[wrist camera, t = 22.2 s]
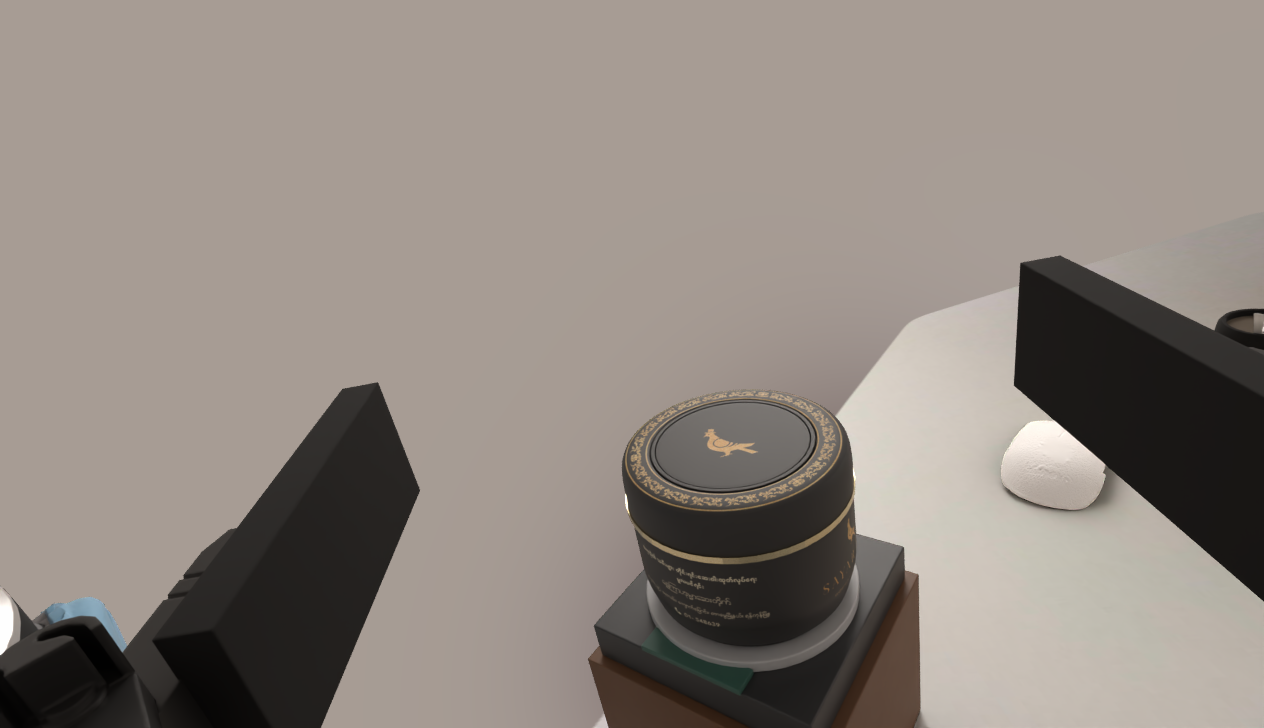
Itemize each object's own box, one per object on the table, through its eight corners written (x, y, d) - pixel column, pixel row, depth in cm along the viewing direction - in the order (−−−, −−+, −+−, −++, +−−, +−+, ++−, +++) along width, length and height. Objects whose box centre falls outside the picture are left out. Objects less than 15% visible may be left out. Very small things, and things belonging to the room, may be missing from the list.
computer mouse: (1120, 432, 57) (1124, 408, 56) (1094, 518, 49) (1097, 492, 48) (1028, 417, 61) (1029, 394, 60) (990, 494, 53) (991, 469, 52)
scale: (837, 920, 31) (816, 732, 26) (626, 787, 38) (575, 619, 33) (920, 709, 39) (918, 533, 34) (733, 632, 46) (706, 477, 41)
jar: (838, 688, 27) (824, 534, 24) (612, 633, 32) (575, 498, 28) (876, 523, 35) (870, 390, 32) (691, 498, 39) (669, 380, 36)
